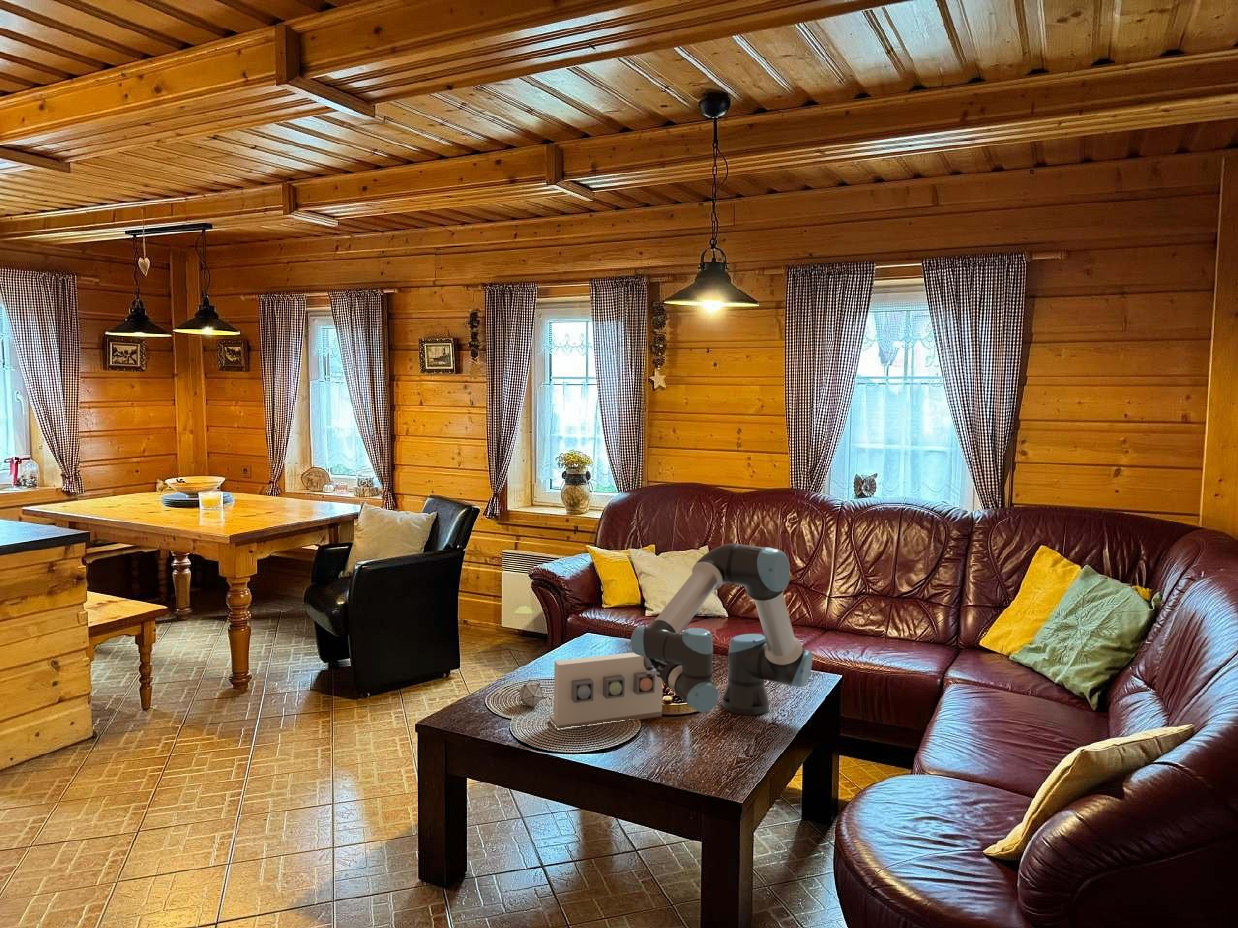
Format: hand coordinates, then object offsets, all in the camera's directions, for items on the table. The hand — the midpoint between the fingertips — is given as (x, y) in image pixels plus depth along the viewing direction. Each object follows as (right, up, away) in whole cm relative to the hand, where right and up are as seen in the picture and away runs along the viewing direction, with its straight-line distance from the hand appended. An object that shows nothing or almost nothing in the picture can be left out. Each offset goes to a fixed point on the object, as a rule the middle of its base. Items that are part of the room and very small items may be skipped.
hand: (644, 650), depth 241 cm
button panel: (-11, -25, +14) cm, 31 cm away
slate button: (-18, -15, +6) cm, 24 cm away
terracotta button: (0, -15, +14) cm, 20 cm away
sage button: (-9, -15, +10) cm, 20 cm away
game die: (-36, -23, +25) cm, 49 cm away
